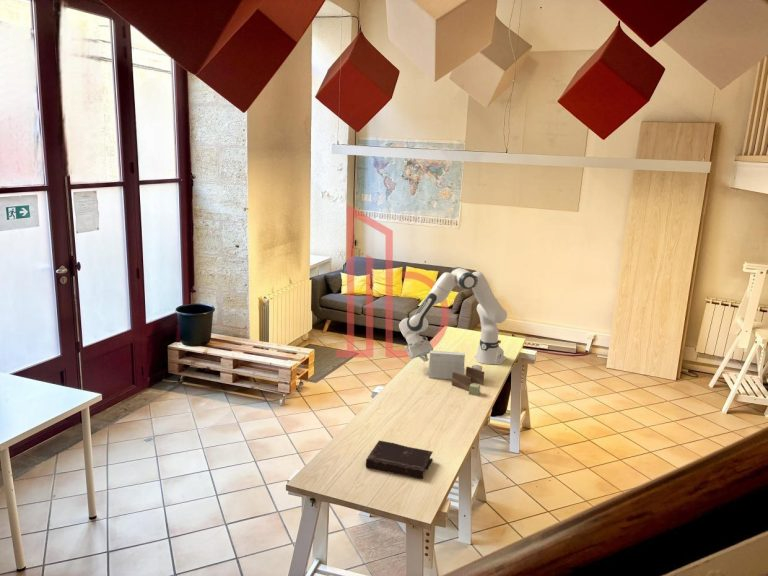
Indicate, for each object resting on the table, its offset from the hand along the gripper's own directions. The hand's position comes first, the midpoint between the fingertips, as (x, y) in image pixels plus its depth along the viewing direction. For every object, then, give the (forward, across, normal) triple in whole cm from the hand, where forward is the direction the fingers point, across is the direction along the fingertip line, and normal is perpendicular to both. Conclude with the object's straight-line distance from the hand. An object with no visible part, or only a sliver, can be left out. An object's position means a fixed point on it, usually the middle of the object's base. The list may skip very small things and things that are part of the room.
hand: (426, 361), depth 371 cm
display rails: (+27, 0, -18) cm, 32 cm away
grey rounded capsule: (+25, +12, -16) cm, 32 cm away
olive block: (+34, -8, -25) cm, 43 cm away
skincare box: (+16, 0, -6) cm, 17 cm away
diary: (+50, -99, -40) cm, 118 cm away
